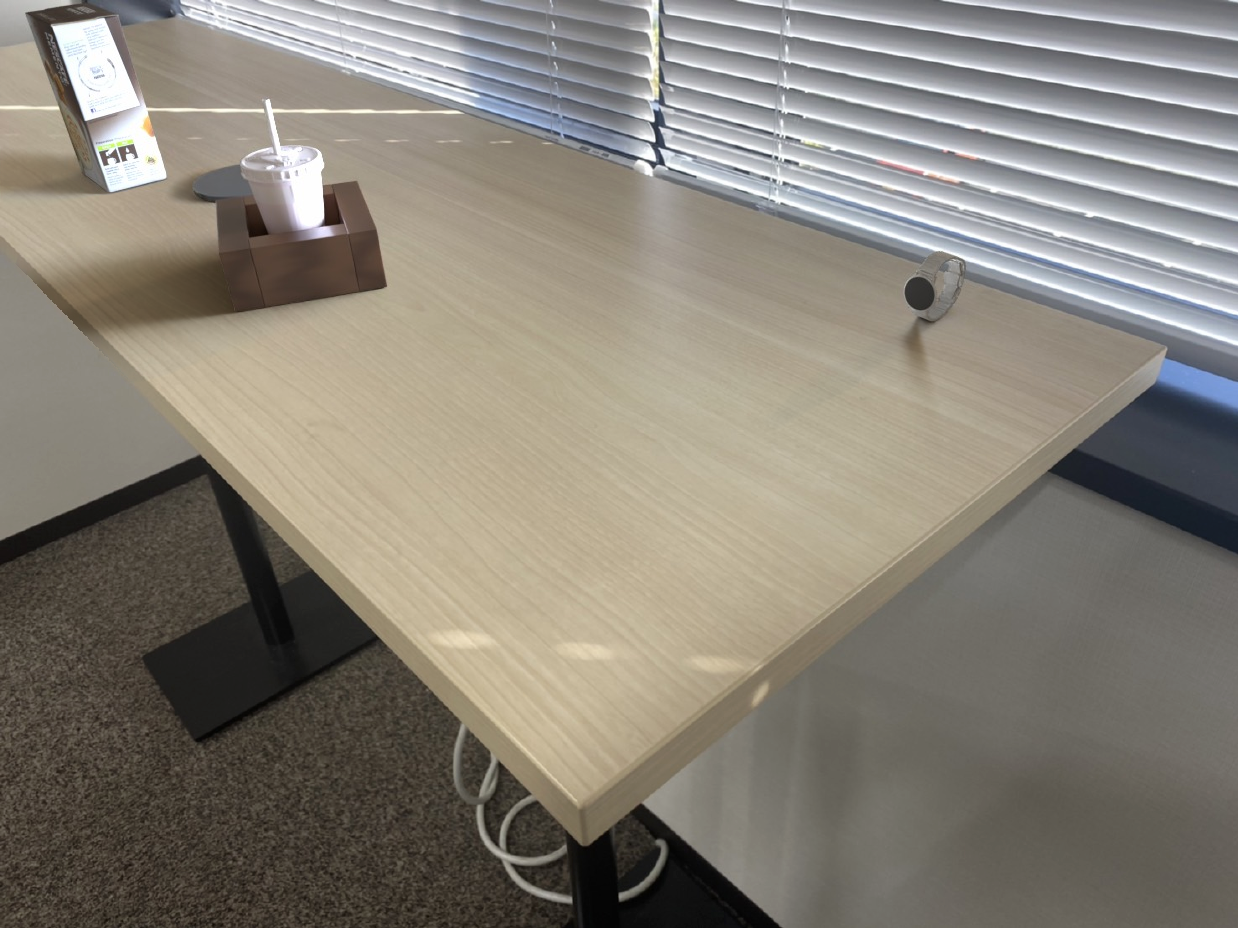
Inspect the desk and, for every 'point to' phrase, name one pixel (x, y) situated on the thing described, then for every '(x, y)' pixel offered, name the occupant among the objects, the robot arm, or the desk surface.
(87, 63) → the coffee box
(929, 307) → the wristwatch
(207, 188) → the coaster
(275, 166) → the smoothie
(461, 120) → the desk surface
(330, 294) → the stand
